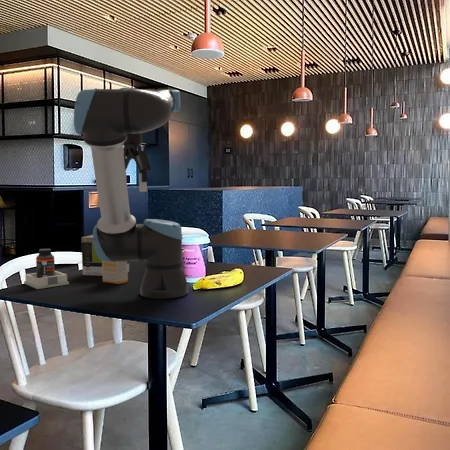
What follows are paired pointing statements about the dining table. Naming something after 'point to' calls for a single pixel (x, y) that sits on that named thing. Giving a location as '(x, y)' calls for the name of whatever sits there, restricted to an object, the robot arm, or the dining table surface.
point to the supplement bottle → (45, 263)
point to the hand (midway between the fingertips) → (132, 191)
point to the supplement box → (115, 272)
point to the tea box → (91, 258)
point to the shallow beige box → (46, 280)
